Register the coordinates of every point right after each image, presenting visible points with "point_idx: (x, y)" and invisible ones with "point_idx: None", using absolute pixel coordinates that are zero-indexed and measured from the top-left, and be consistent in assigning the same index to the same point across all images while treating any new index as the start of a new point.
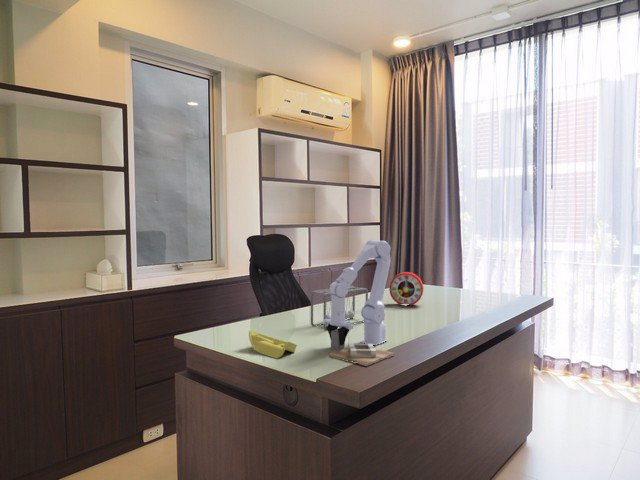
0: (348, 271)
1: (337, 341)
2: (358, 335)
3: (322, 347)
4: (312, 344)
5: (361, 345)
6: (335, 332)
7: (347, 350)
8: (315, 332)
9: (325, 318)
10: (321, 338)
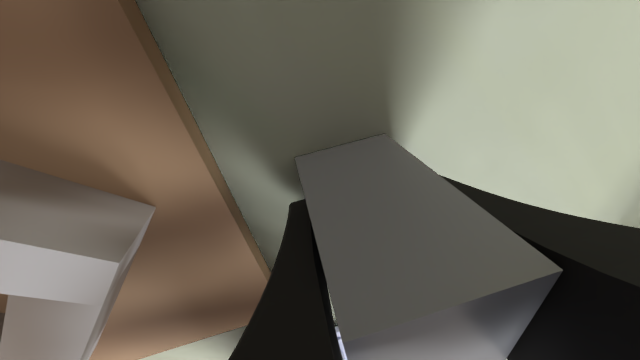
0: None
1: (322, 200)
2: None
3: (452, 67)
4: (582, 44)
5: (5, 346)
6: (428, 302)
7: (135, 189)
8: (635, 223)
9: None
10: (566, 198)
